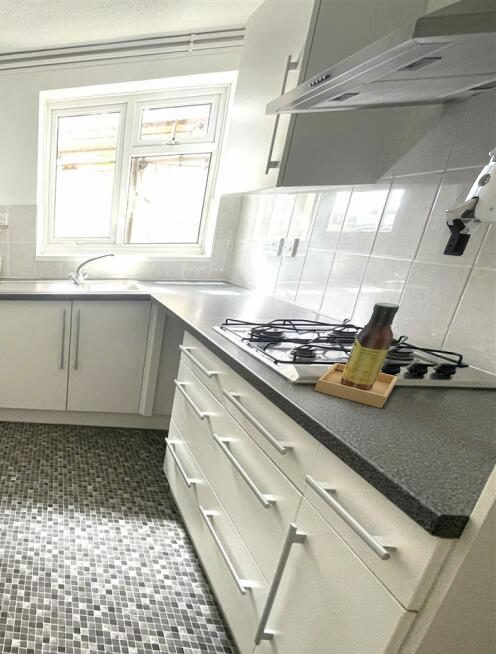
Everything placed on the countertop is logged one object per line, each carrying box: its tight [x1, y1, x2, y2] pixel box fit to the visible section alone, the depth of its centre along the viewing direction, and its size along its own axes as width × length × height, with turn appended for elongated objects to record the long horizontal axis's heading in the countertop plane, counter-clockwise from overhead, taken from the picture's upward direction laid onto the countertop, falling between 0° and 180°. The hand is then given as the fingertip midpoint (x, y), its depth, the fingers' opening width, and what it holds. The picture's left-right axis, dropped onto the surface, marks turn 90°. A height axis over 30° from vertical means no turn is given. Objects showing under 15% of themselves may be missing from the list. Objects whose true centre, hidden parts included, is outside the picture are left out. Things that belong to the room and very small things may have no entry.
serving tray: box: [314, 362, 399, 409], centre depth 99 cm, size 17×12×3 cm
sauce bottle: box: [341, 302, 400, 390], centre depth 96 cm, size 7×6×20 cm
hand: (478, 255), depth 81 cm, fingers open, 9 cm apart
